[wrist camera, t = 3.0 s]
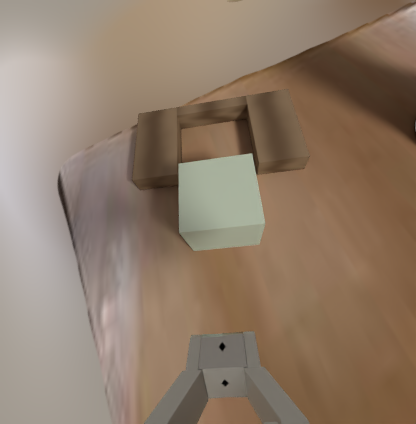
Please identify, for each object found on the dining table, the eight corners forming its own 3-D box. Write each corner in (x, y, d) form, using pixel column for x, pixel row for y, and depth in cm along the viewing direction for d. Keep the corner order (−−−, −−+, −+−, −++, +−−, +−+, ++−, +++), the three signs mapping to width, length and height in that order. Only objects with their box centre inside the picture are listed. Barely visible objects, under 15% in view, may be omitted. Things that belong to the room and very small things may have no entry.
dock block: (284, 104, 39) (287, 88, 36) (304, 168, 33) (309, 156, 30) (145, 126, 41) (138, 113, 38) (140, 189, 35) (132, 180, 33)
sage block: (249, 187, 33) (252, 153, 26) (259, 244, 29) (265, 223, 22) (191, 194, 34) (178, 163, 27) (193, 251, 30) (179, 232, 23)
